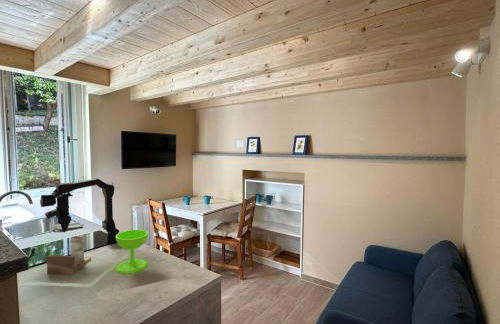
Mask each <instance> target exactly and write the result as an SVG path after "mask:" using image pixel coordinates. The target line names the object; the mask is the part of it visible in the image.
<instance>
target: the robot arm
mask: <svg viewBox="0 0 500 324" xmlns="http://www.w3.org/2000/svg"><path fill="white" fill-rule="evenodd" d="M93 186H94V187H95V186H97V187H99V188H100V189H101V191H102V195H103V198H104V216H105V217H104V220H103V221H101V224H102V225H101V227H102V228H103V231H105V232H106V236H105V242H106V244H108V245H111V244H115V243H116V244H117V241H116V235H117V234H119V233H120V230H119V229H118V228H116V226H117V225H116V223H115V220H114V216H113V215H114V214H113V212H114V211H113V197H114V194H115V186H114V185H112V184H109V183H106V182H104V181H103V180H101V179H99V178H96V177H95V178H93V179H87V180H80V181H76V182H60V183H57V184H56V186H55V189H54V190H53V191H52V193H50V194H41V195H40V200H39V203H40V204H39V205H40V208H47V207H53V206H55V205H56V206H55V208H54V209H52V210H49V211H46V212H45V213H44V216H45V217H46V219H47V220H50V219H51V218H54V217H55V219H57V223H58V225H59V224H61V228H62V230H63V231H62V233H66V230H67V228H68V226H69V224H70V223H72V216H70V205H69V203H70V201H69V199H70V197H73V195H74V194H71V193H72V192H73V191H75V190H79V189H84V188H88V187H93ZM67 231H68V230H67Z"/></svg>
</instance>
